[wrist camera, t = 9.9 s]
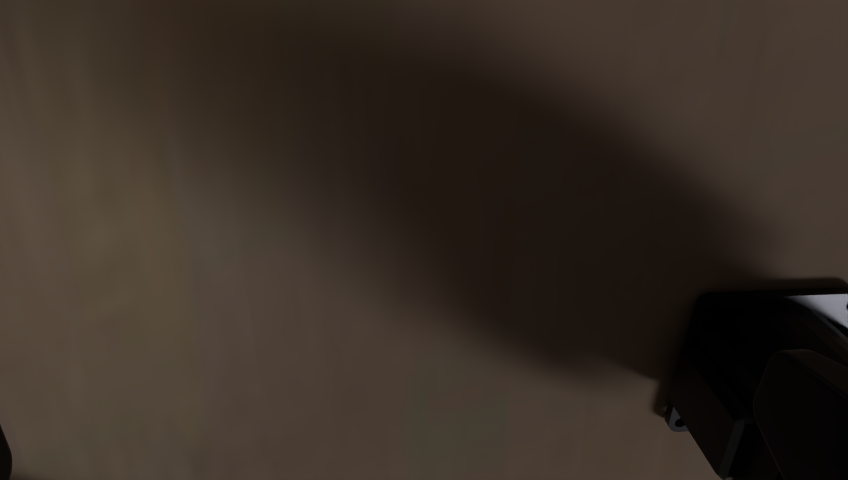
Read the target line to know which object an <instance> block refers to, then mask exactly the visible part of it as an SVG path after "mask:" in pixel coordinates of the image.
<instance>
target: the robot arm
mask: <svg viewBox="0 0 848 480" xmlns="http://www.w3.org/2000/svg"><path fill="white" fill-rule="evenodd" d="M713 304H714V305H713ZM711 305H713V307H712V308H710V309H708V307H709V306H711ZM668 398H669V402H668V406H667V410H666V413H665V421H666V423H667V424H668V426H669V428H670V429H671V430H673V431H676V432H682V431H689V432H690V433H691V435H692V437H693V438H694V440H695V441H696V443H697V444H698V446H699V448H700V449H701V451H702V452H703V454H704V455H705V457H706V459H707V460H708V462H709V463H710V465H711V466H712V468H713V470H714V471H715V473H716V474H717V475H718V476H719V477H720V478H721V479H722V480H848V288H832V289H801V290H771V291H740V292H711V293H706V294H704V295H702V296H701V297H700V298H699V299H698V300H697V301H696V303H695V307H694V310H693V314H692V318H691V321H690V325H689V329H688V332H687V336H686V340H685V343H684V346H683V348H682V349H681V351H680V355H679V359H678V362H677V366H676V370H675V374H674V377H673V381H672V385H671V388H670V392H669V396H668ZM679 418H680V419H679ZM11 470H12V455H11V451H10V448H9V445H8V443H7V440H6V438H5V435H4V433H3V430H2V428H1V425H0V480H9V479H10V475H11Z"/></svg>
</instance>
